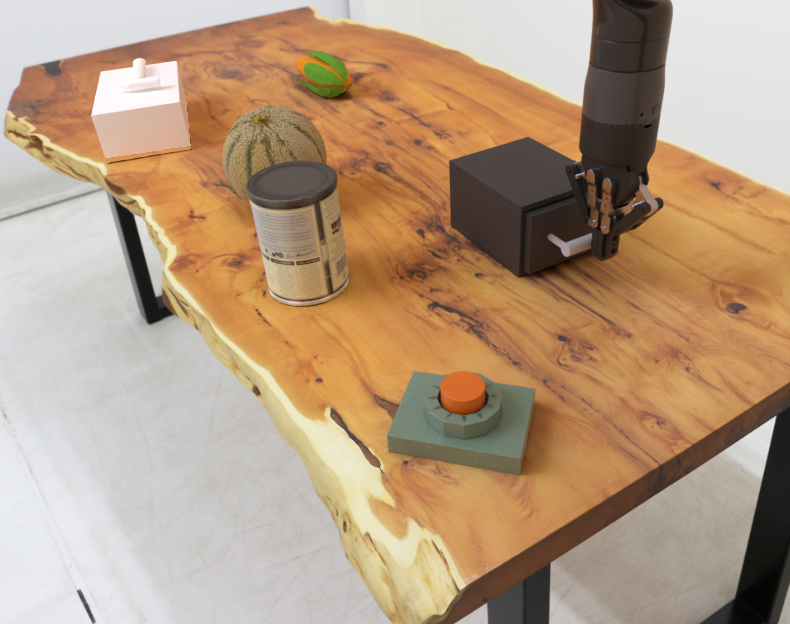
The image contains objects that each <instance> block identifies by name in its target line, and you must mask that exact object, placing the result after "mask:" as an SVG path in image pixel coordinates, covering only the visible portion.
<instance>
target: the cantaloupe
mask: <svg viewBox="0 0 790 624" xmlns="http://www.w3.org/2000/svg"><path fill="white" fill-rule="evenodd" d="M327 155H328V154H327V148H326V144H325V140H324V139H323V136H322V134H321V132H320V131H319V129H317V127H316V125H315V123H313V122H312V121H311V120H310V119H309V118H308V117H306V115H304V114H303V113H302V112H300V111H299V110H297V109H294V108H291V107H289V106H285V105H275V104H273V105H272V104H268V105H267V104H266V105H262V106H259V107H257V108H254V109H251V110H249V111H247V112H245V113H244V114H242V115H241V116H240V117H239V118H237V119H236V120H235V122H234V123H233V124H232V126H231V127H230V129H229V131H228V133H227V136H226V138H225V141H224V143H223V146H222V155H221V159H222V161H221V164H222V168H223V171H224V174H225V178H226V179H227V181H228V183H229V185H230V186H231V188H232V189H233V190H234V191H235V193H236V194H237V195H238V196H239V198H241V199H242V200H244V201H245V202H246V203H248V204H249V205H251V204H250V200H249V196H248V194H247V191H246V183H247V181H248V180H249V178H250V177H251V176H253V175H254V174H255V173H257V172H258V171H260V170H262V169H265V168H267V167H269V166H272V165H276V164H279V163H284V162H290V161H315V162H320V163H324V164H327V165H328V161H327V160H328V156H327Z"/></svg>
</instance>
